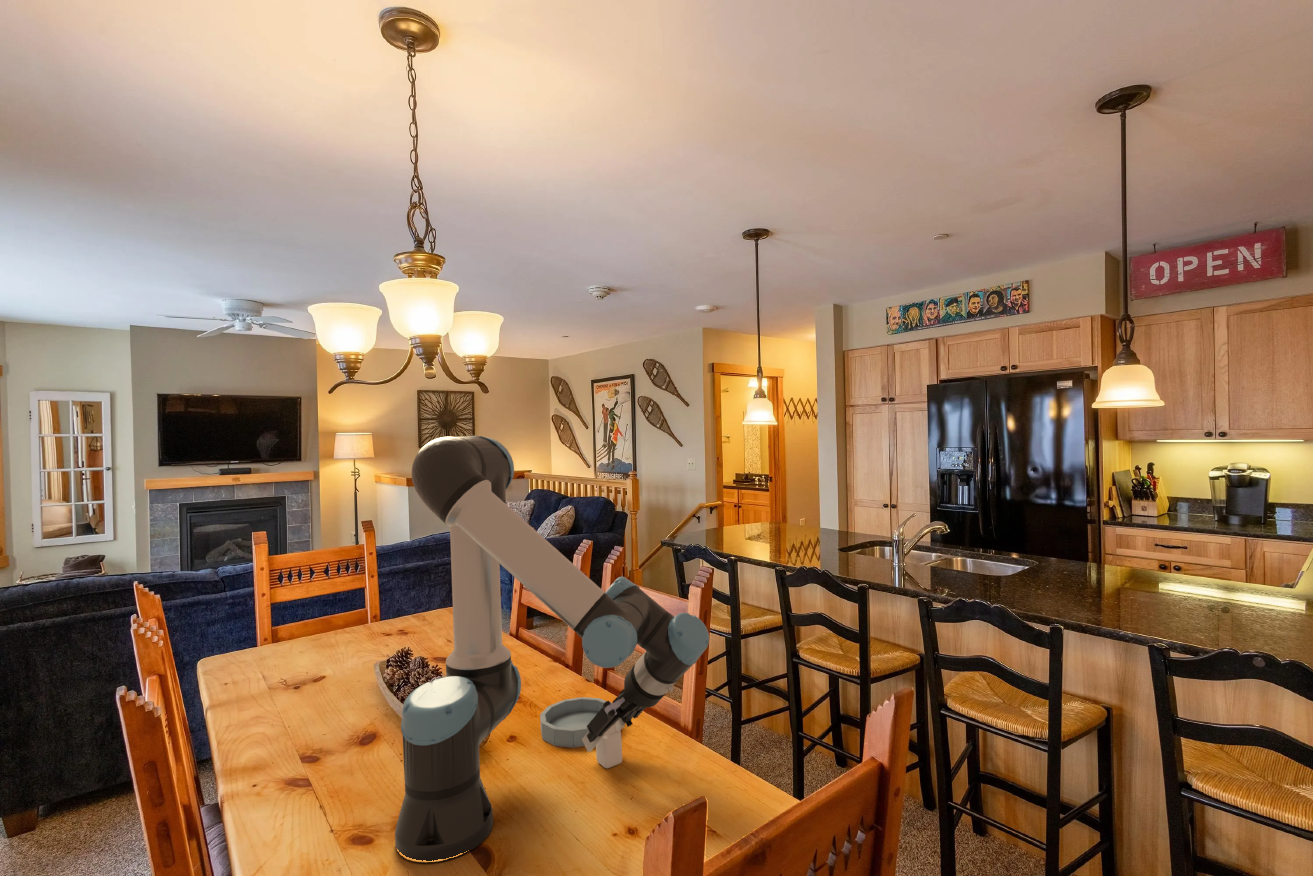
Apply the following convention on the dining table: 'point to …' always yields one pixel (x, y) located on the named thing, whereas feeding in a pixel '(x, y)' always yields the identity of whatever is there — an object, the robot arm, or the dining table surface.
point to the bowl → (569, 721)
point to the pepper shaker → (610, 748)
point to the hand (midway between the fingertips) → (596, 740)
